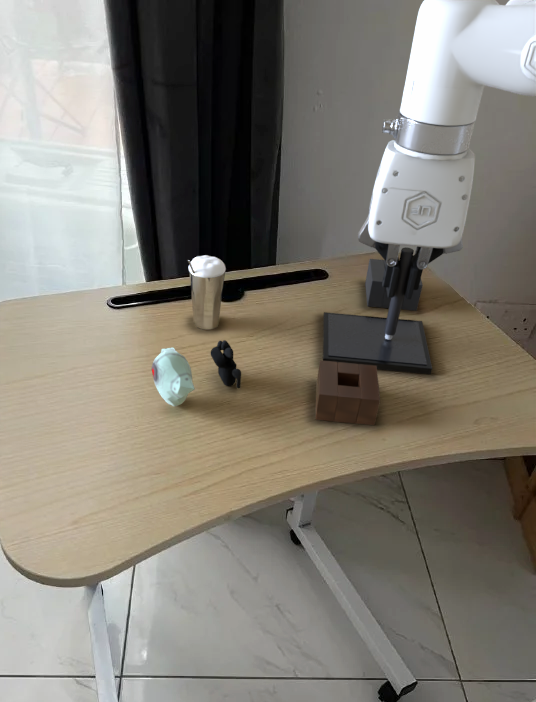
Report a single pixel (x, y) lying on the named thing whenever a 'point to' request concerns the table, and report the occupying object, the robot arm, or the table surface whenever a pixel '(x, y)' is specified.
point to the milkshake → (206, 290)
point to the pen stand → (347, 393)
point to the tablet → (375, 343)
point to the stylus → (398, 293)
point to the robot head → (172, 376)
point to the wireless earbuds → (226, 364)
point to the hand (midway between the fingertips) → (398, 292)
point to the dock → (379, 294)
